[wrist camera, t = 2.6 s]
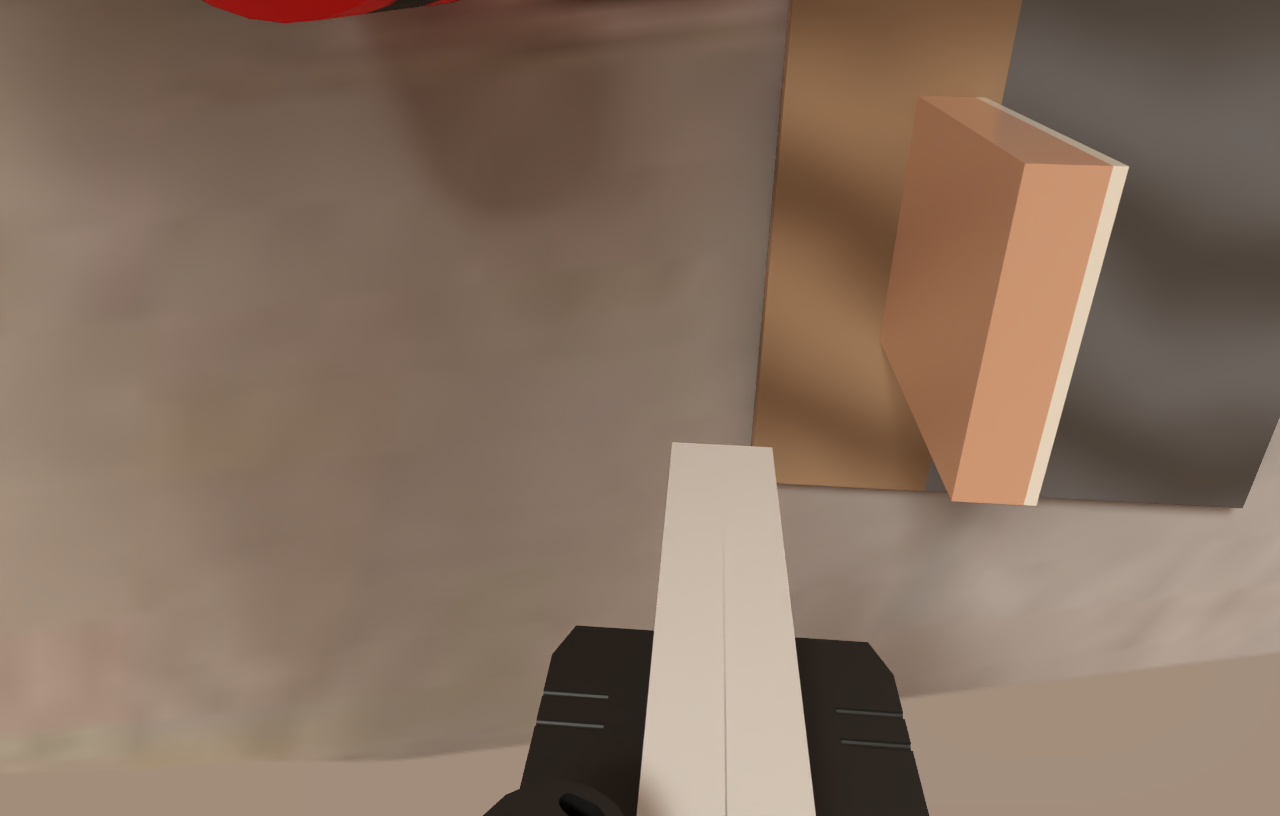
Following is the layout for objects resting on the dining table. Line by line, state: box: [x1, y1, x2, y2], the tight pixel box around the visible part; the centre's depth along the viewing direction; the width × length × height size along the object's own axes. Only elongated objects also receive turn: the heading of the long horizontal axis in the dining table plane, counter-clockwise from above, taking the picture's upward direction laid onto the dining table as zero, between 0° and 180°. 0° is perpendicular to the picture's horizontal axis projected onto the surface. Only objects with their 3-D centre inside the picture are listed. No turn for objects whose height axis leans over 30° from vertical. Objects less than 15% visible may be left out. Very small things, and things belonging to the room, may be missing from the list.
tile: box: [880, 96, 1129, 506], centre depth 23 cm, size 8×2×10 cm, turn 179°
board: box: [751, 0, 1280, 508], centre depth 28 cm, size 20×18×1 cm
